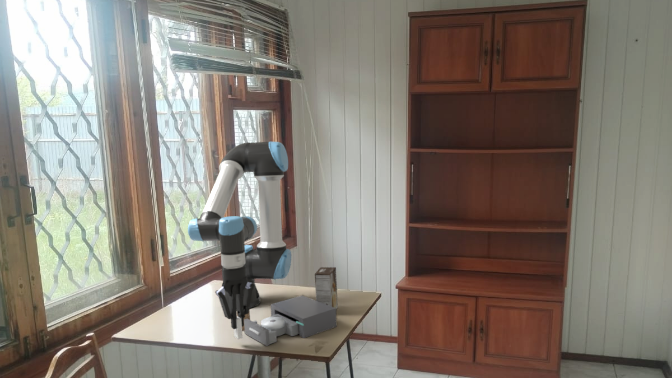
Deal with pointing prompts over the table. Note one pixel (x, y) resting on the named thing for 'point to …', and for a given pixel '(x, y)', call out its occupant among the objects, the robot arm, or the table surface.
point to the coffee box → (326, 286)
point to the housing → (307, 314)
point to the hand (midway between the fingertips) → (238, 337)
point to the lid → (273, 323)
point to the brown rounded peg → (246, 318)
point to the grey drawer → (270, 335)
